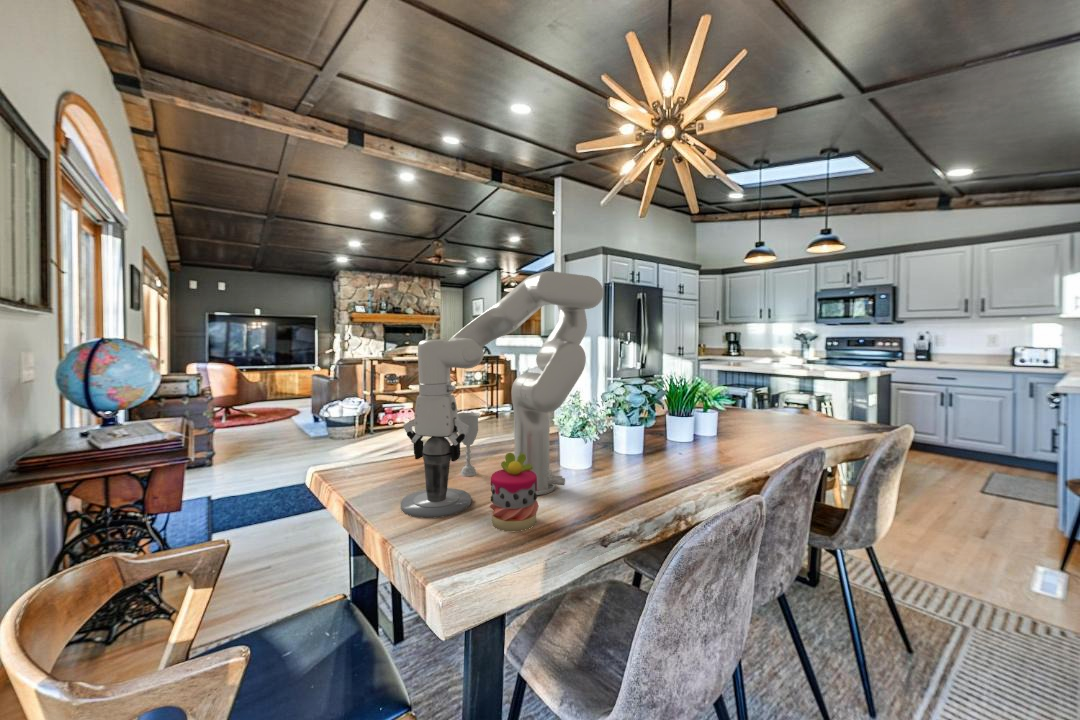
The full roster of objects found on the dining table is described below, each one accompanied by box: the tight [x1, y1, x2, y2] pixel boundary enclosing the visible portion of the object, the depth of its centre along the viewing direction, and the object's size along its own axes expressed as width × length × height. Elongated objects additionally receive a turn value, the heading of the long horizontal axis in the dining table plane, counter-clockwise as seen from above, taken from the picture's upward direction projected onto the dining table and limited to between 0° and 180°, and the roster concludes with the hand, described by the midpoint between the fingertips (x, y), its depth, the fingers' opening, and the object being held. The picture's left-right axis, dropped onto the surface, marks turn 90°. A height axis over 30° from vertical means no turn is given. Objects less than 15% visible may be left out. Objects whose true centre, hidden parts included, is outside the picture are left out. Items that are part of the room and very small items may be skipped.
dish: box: [400, 487, 472, 519], centre depth 115 cm, size 17×17×2 cm
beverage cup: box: [422, 437, 452, 502], centre depth 114 cm, size 7×7×20 cm
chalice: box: [457, 412, 481, 477], centre depth 139 cm, size 7×7×18 cm
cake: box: [489, 452, 540, 532], centre depth 103 cm, size 10×10×15 cm
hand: (437, 458), depth 114 cm, fingers open, 9 cm apart
